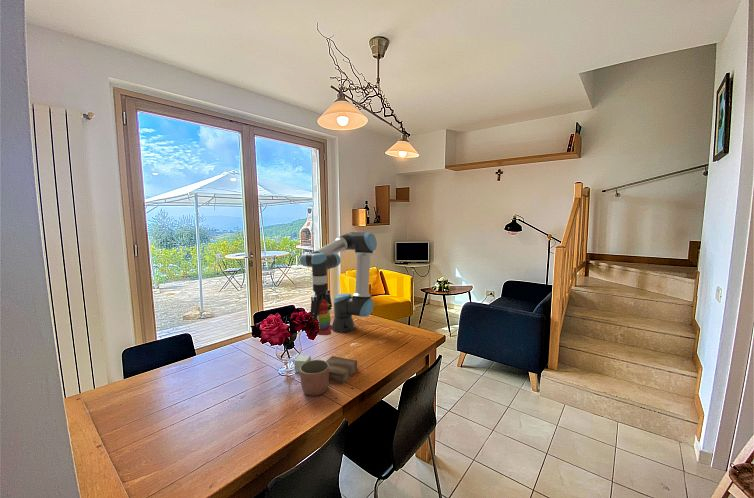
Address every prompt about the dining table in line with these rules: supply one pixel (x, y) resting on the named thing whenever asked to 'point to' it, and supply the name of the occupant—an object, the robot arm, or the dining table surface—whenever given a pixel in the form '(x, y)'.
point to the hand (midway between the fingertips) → (322, 324)
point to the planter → (314, 377)
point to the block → (301, 361)
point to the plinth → (341, 369)
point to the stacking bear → (324, 319)
